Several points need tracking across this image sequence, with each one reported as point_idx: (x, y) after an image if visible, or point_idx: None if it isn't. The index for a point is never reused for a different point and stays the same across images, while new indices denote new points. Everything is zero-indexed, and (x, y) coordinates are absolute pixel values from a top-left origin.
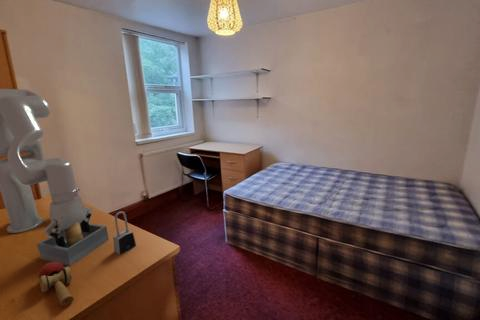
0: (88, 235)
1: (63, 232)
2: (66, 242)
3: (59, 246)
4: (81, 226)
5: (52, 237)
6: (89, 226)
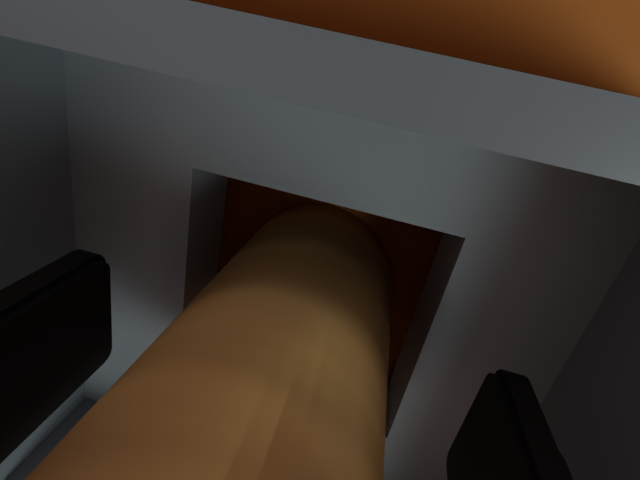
0: None
1: (357, 113)
2: (297, 187)
3: (198, 161)
4: (515, 458)
5: (95, 56)
6: (614, 464)
